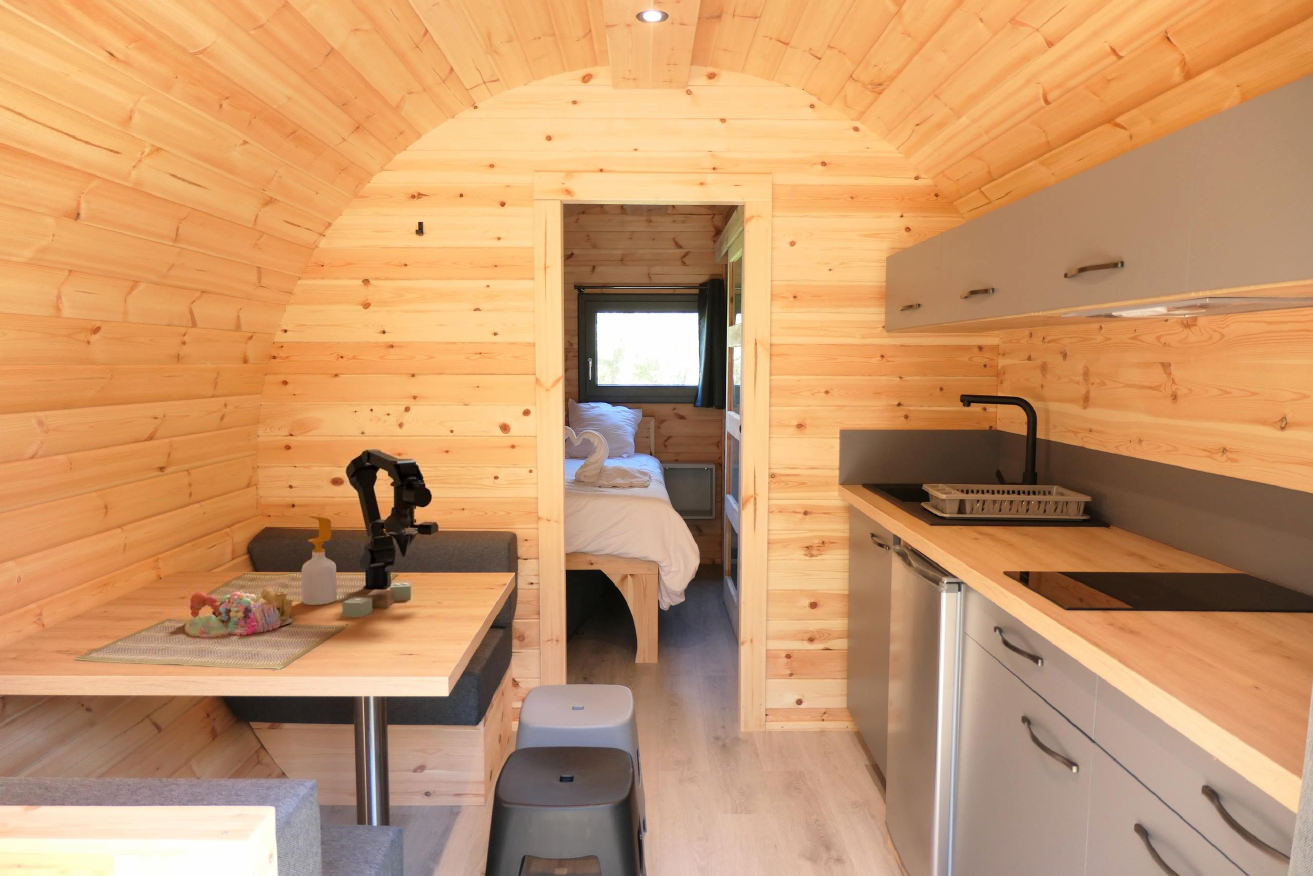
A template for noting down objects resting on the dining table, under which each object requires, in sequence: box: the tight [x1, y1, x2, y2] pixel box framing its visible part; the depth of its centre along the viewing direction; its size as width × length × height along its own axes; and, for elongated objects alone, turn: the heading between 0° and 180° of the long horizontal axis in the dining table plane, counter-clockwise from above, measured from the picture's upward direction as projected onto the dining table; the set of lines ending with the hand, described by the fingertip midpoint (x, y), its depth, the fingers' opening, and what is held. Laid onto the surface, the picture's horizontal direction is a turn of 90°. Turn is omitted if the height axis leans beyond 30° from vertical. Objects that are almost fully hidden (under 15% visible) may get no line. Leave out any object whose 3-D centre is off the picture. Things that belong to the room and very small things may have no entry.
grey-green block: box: [341, 596, 373, 619], centre depth 225 cm, size 6×6×4 cm
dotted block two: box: [389, 581, 412, 601], centre depth 242 cm, size 6×6×4 cm
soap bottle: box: [301, 515, 338, 606], centre depth 237 cm, size 9×9×25 cm
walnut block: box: [367, 589, 395, 610], centre depth 234 cm, size 6×6×4 cm
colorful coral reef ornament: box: [184, 587, 294, 639], centre depth 215 cm, size 25×24×9 cm
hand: (404, 556), depth 243 cm, fingers closed
